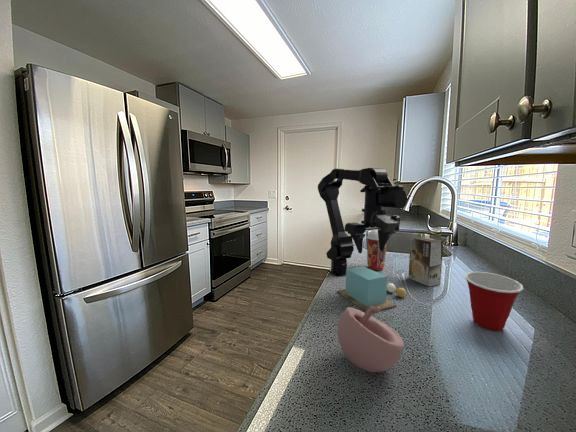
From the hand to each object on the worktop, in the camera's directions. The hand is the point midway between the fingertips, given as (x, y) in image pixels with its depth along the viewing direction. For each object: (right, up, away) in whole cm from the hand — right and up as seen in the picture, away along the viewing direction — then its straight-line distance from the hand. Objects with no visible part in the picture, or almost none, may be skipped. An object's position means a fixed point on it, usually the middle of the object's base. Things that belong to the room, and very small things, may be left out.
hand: (371, 251), depth 80 cm
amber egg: (+7, -13, -6) cm, 16 cm away
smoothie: (+10, -11, +21) cm, 26 cm away
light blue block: (-4, -13, -7) cm, 16 cm away
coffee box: (+22, -12, +7) cm, 27 cm away
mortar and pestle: (-13, -17, -34) cm, 40 cm away
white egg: (+6, -13, -2) cm, 14 cm away
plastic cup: (+22, -15, -21) cm, 34 cm away
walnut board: (-4, -14, -7) cm, 16 cm away
